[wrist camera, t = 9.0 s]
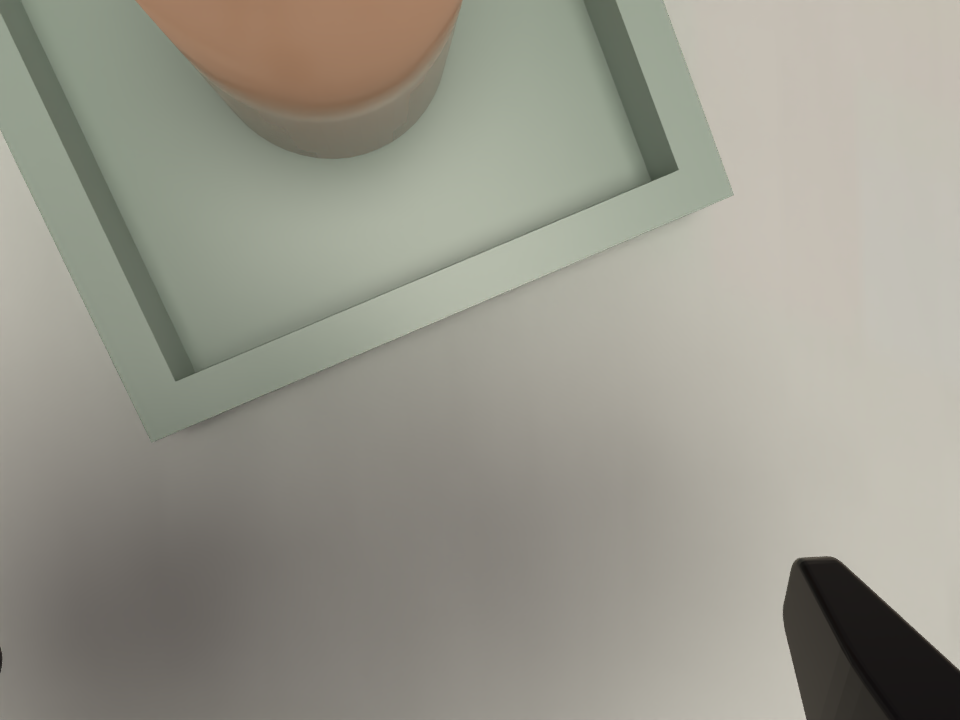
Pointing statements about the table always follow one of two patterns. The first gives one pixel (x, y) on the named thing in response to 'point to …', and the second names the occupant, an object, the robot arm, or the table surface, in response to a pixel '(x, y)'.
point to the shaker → (316, 65)
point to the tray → (337, 188)
